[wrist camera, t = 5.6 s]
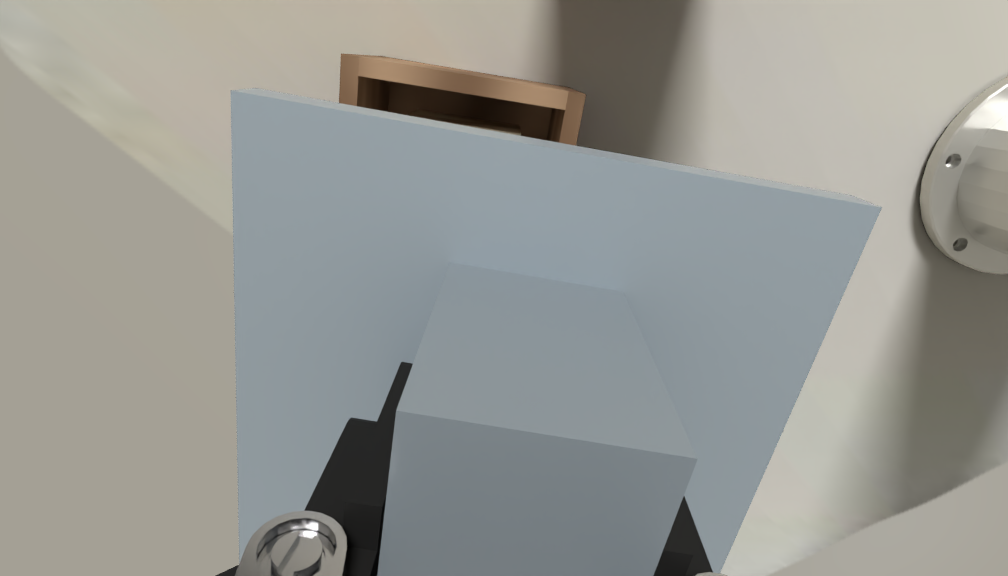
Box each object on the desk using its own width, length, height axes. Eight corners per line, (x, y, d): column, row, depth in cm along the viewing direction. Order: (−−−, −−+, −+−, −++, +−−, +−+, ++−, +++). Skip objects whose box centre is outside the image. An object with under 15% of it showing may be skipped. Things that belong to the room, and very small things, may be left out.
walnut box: (568, 87, 32) (586, 94, 25) (535, 262, 36) (542, 313, 29) (380, 56, 32) (341, 53, 24) (368, 237, 36) (332, 282, 28)
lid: (825, 185, 12) (1183, 327, 6) (671, 576, 17) (767, 905, 10) (276, 86, 12) (-34, 114, 5) (271, 516, 16) (104, 820, 10)
